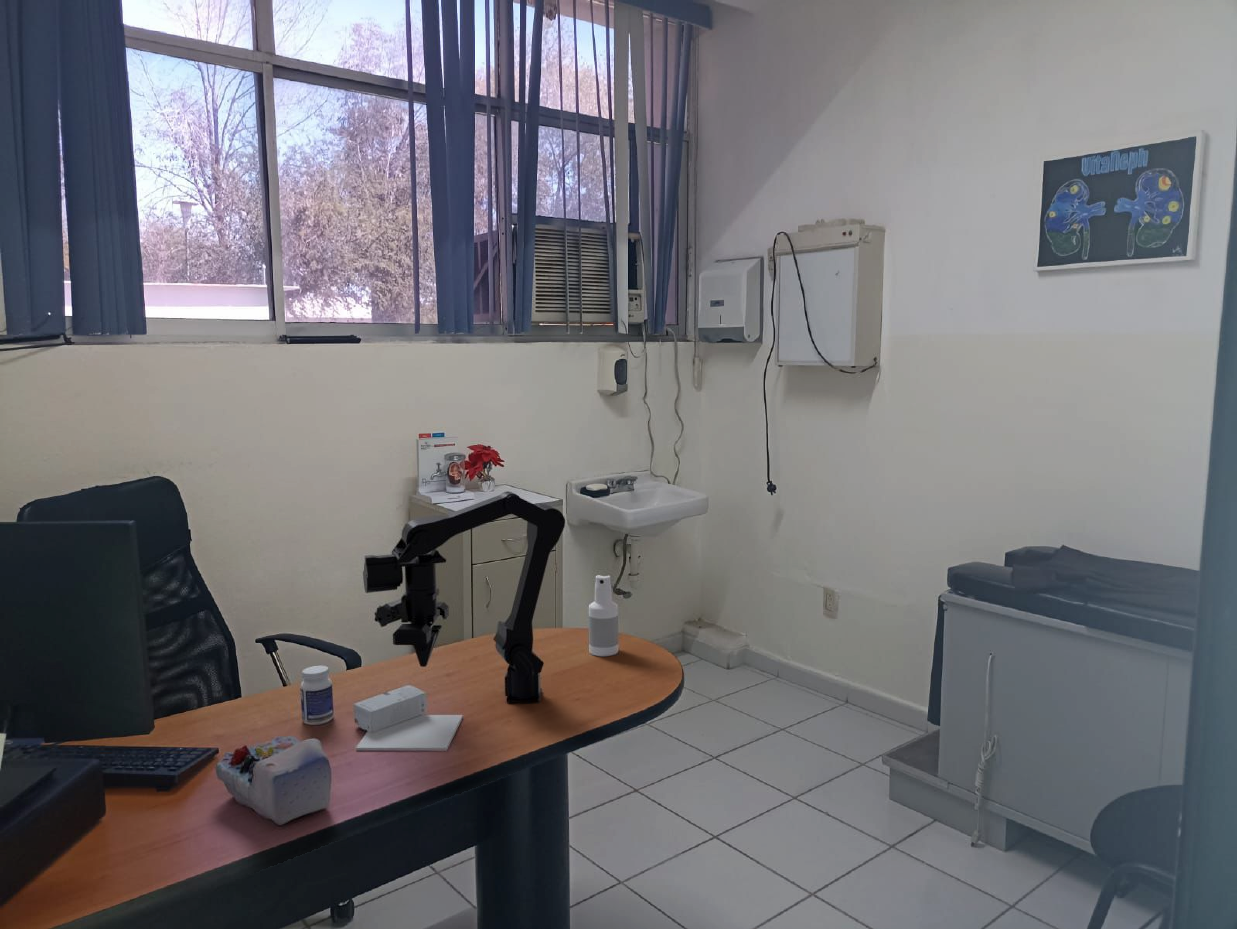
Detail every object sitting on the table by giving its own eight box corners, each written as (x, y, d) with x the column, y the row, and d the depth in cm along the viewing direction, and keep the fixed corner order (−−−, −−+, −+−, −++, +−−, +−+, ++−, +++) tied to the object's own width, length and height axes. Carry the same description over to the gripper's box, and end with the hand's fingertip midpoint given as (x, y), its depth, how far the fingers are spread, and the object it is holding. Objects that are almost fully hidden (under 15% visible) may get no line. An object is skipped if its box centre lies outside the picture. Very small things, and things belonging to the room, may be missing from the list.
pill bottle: (340, 716, 167) (337, 666, 166) (318, 728, 162) (315, 676, 160) (317, 711, 169) (314, 662, 168) (295, 723, 164) (292, 672, 163)
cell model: (268, 768, 123) (204, 733, 136) (273, 840, 124) (210, 798, 137) (349, 737, 133) (283, 706, 146) (354, 804, 134) (288, 768, 147)
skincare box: (426, 692, 166) (371, 710, 157) (427, 714, 167) (371, 734, 158) (408, 683, 170) (352, 701, 161) (408, 706, 171) (353, 724, 162)
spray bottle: (586, 656, 199) (585, 579, 197) (592, 646, 206) (591, 572, 204) (615, 657, 198) (615, 580, 196) (620, 647, 205) (620, 573, 202)
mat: (462, 717, 166) (462, 715, 166) (446, 750, 152) (446, 747, 152) (379, 717, 166) (379, 715, 166) (355, 750, 152) (355, 747, 152)
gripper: (393, 574, 174) (396, 649, 176) (362, 600, 156) (366, 684, 158) (448, 574, 174) (450, 649, 176) (424, 600, 155) (427, 684, 157)
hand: (423, 666), depth 167 cm, fingers closed
